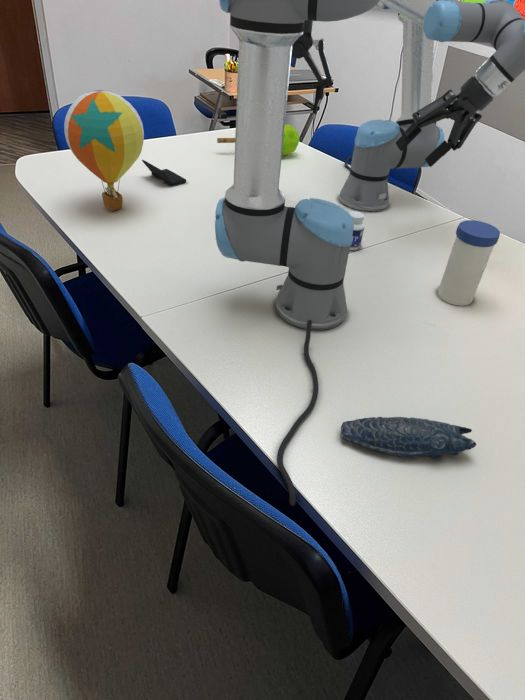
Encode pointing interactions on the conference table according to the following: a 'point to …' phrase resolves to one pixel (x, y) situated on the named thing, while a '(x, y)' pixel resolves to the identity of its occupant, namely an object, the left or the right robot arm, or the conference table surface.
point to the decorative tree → (288, 141)
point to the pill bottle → (357, 229)
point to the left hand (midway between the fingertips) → (288, 109)
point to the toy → (105, 138)
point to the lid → (477, 233)
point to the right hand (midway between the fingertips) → (413, 155)
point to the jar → (463, 272)
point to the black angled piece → (165, 175)
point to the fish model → (407, 436)
